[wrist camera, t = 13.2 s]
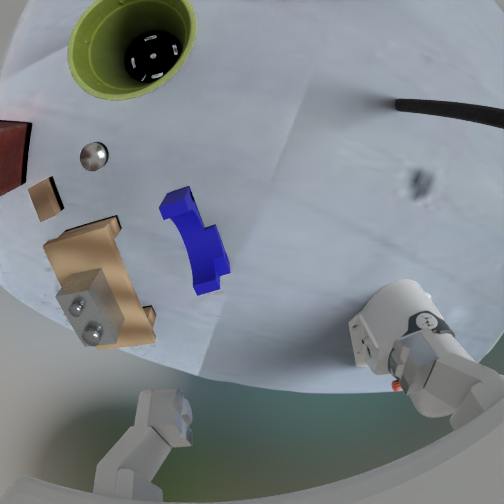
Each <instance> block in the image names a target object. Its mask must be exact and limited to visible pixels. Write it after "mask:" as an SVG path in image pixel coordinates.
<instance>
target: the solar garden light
mask: <svg viewBox="0 0 504 504" xmlns="http://www.w3.org/2000/svg"><path fill="white" fill-rule="evenodd" d="M395 106H396V108H397V110H399V111H402V112H412V113H421V114H429V115H436V116H443V117H449V118H455V119H461V120H466V121H472V122H477V123H481V124H486V125H490V126H494V127H499V128H503V129H504V109H499V108H493V107H487V106H480V105H473V104H466V103H457V102H447V101H435V100H420V99H398V100H396V103H395Z"/></svg>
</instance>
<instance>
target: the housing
mask: <svg viewBox="0 0 504 504" xmlns="http://www.w3.org/2000/svg"><path fill="white" fill-rule="evenodd" d="M55 297H56V299H57V301H58V302H59V304H60V306H61V308H62V310H63V311H64V313H65V315H66V317H67V318H68V320H69V322H70V324H71V325H72V327H73V329H74V330H75V332H76V333H77V335H78V337H79V338H80V340H81V342H82V343H83V345H84V346H97V345H109V344H116V343H117V340H118V337H119V334H120V331H121V328H122V325H123V322H124V319H125V317H124V315H123V313H122V311H121V309H120V307H119V305H118V303H117V301H116V299H115V297H114V295H113V292H112V290H111V288H110V286H109V284H108V281H107V279H106V277H105V275H104V272H103V270H102V268H98V269H94V270H89V271H84V272H80V273H75V274H71V275H70V276H69V278H68V279H67V281H66V282H65V283H64V285H63V286H62V288H61V289H60V290H59V292H58V293H57V295H56V296H55Z"/></svg>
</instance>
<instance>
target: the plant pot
mask: <svg viewBox="0 0 504 504" xmlns="http://www.w3.org/2000/svg"><path fill="white" fill-rule="evenodd" d="M196 30H197V22H196V16H195V12H194V9H193V7H192V5H191V3H190V2H189V0H96V1H95V2H94V3H93V4H92V5H91V6H90V7H89V8H88V9H87V10H86V11H85V12H84V13H83V14H82V16H81V17H80V19H79V20H78V22H77V24H76V25H75V27H74V29H73V31H72V34H71V37H70V40H69V45H68V65H69V69H70V72H71V74H72V76H73V78H74V80H75V81H76V83H77V84H78V85H79V86H80V87H81V88H82V89H83V90H84V91H86V92H87V93H88V94H90V95H92V96H94V97H97V98H100V99H105V100H116V101H118V100H127V99H132V98H136V97H139V96H142V95H144V94H147V93H149V92H151V91H153V90H155V89H156V88H158V87H159V86H161V85H162V84H164V83H165V82H166V81H168V80H169V79H170V78H171V77H172V76H173V75H174V74H175V73H176V72H177V71H178V70H179V69H180V68H181V66H182V65H183V64H184V62H185V61H186V59H187V57H188V56H189V54H190V52H191V50H192V47H193V44H194V41H195V37H196ZM155 35H156V36H157V37H156V38H155V39H150V40H147V41H145V40H144V39H145V38H148V37H150V36H155ZM172 45H176V46H177V51H178V54H177V55H174V49H173V47H172ZM152 53H155V54H156V57H155V58H154V59H152V58H150V55H151V54H152ZM132 58H134V61H135V66H136V67H135V68H134V69H133V65H132V62H131V59H132ZM162 72H163V75H162V76H161V77H158V78H151V76H152V75H155V74H159V73H162ZM145 75H146V76H145ZM144 76H145V78H144ZM143 78H144V80H143V81H142V79H143Z"/></svg>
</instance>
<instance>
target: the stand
mask: <svg viewBox="0 0 504 504" xmlns="http://www.w3.org/2000/svg"><path fill="white" fill-rule="evenodd" d="M121 229H122V227H121V225H120V222H119V219H118V216H117V215H115V216H111V217H108V218H104V219H101V220H97V221H94V222H90V223H87V224H84V225H80V226H77V227H74V228H71V229H67V230H65V231H64V232H63V233H62V234H61V235H60V236H59V237H58V238H56V239H52V240H49V241H47V242H46V243H45V244H44V245H43V248H44V250H45V253H46V255H47V257H48V260H49V262H50V264H51V266H52V268H53V270H54V273H55V275H56V277H57V279H58V281H59V283H60V285H61V287H62V286H63V285H64V283H65V282H66V281H67V279H68V278H69V276H70V275H71V274H75V273H80V272H84V271H89V270H94V269H98V268H102V270H103V272H104V275H105V277H106V279H107V281H108V284H109V286H110V288H111V290H112V292H113V295H114V297H115V299H116V301H117V303H118V305H119V307H120V309H121V311H122V313H123V315H124V317H125V319H124V322H123V325H122V328H121V331H120V334H119V337H118V340H117V343H116V344H109V345H97V346H96V348H97V349H108V348H118V347H128V346H137V345H145V344H153V343H155V339H156V335H155V333H154V331H153V326H154V322H155V318H156V314H155V311H154V309H153V307H152V305H150V306H144V307H142V306H141V304H140V301H139V299H138V297H137V295H136V292H135V290H134V288H133V285H132V283H131V281H130V278H129V276H128V274H127V271H126V269H125V266H124V264H123V261H122V259H121V256H120V254H119V251H118V248H117V246H116V243H115V240H114V238H115V237H116V236H117V234H118V233H119V232H120V230H121Z"/></svg>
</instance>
